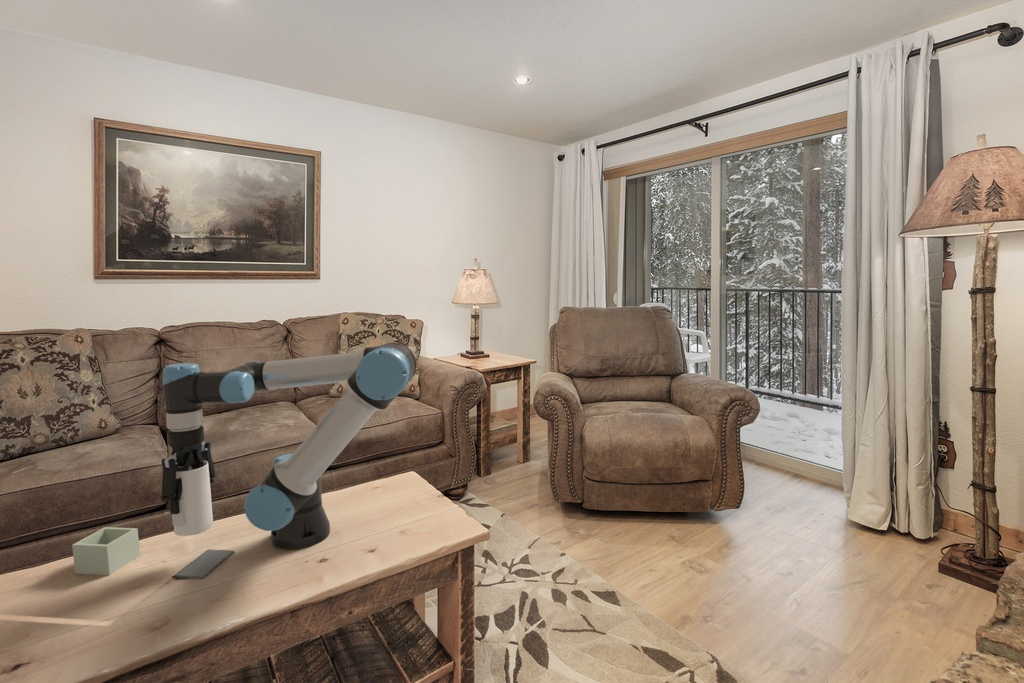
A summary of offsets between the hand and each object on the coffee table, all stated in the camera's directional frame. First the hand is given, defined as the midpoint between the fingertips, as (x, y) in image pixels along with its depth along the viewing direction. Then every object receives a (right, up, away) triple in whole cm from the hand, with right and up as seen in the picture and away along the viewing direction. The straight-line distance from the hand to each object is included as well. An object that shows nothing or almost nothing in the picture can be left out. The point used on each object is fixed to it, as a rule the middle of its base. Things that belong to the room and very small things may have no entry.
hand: (192, 516), depth 128 cm
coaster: (0, -12, +1) cm, 12 cm away
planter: (-21, -13, 0) cm, 25 cm away
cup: (0, -3, 0) cm, 3 cm away
